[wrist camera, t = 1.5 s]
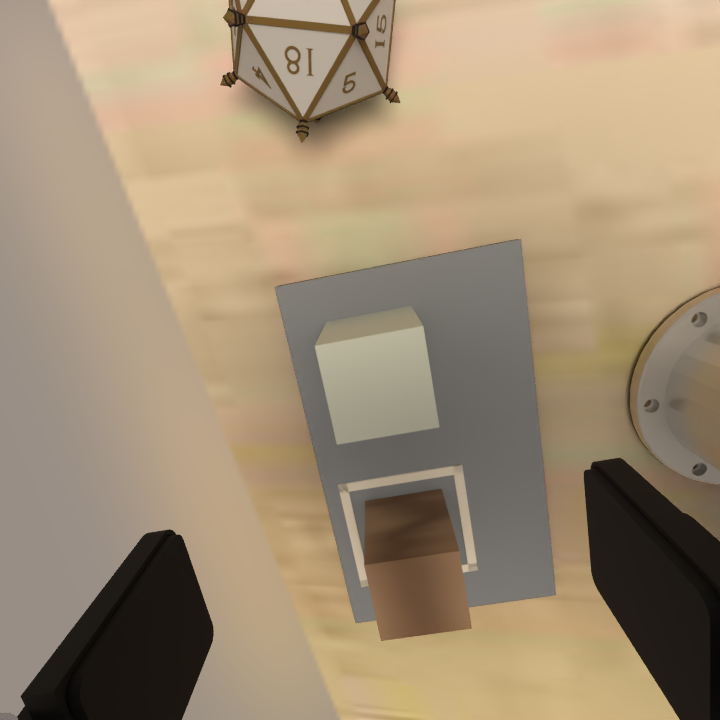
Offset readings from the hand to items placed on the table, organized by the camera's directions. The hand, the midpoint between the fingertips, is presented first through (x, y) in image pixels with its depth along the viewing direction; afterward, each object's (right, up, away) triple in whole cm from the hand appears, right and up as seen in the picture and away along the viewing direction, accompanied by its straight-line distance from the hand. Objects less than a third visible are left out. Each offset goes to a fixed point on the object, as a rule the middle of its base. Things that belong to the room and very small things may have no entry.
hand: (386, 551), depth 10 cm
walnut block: (+3, -7, +20) cm, 21 cm away
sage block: (0, +5, +17) cm, 17 cm away
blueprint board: (+4, -1, +19) cm, 20 cm away
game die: (-3, +20, +14) cm, 24 cm away
